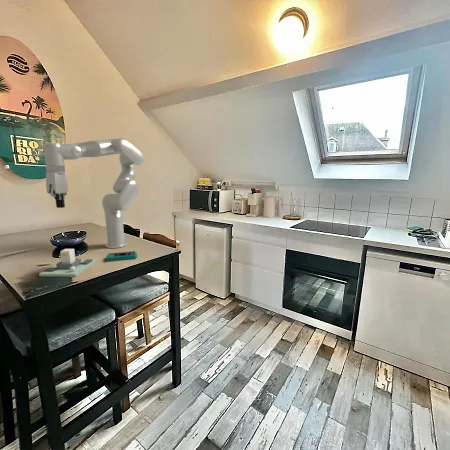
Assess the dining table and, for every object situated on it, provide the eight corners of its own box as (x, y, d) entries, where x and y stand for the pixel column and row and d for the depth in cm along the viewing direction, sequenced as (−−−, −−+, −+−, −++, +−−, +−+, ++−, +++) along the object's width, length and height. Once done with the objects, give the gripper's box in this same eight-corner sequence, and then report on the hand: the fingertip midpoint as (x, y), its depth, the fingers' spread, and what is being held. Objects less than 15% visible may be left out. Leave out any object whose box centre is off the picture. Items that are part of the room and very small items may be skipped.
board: (64, 261, 129) (63, 254, 128) (96, 262, 129) (95, 255, 128) (39, 276, 111) (37, 268, 110) (75, 276, 111) (74, 268, 110)
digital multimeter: (137, 259, 134) (136, 254, 133) (106, 262, 129) (105, 257, 128) (137, 255, 140) (136, 250, 140) (107, 258, 136) (107, 252, 135)
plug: (67, 264, 121) (65, 248, 120) (76, 264, 121) (74, 248, 120) (61, 268, 117) (59, 251, 115) (70, 268, 117) (68, 251, 115)
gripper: (58, 169, 130) (62, 205, 134) (36, 169, 116) (42, 209, 119) (72, 169, 130) (76, 205, 134) (53, 169, 116) (58, 209, 119)
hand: (60, 207), depth 127 cm, fingers closed
